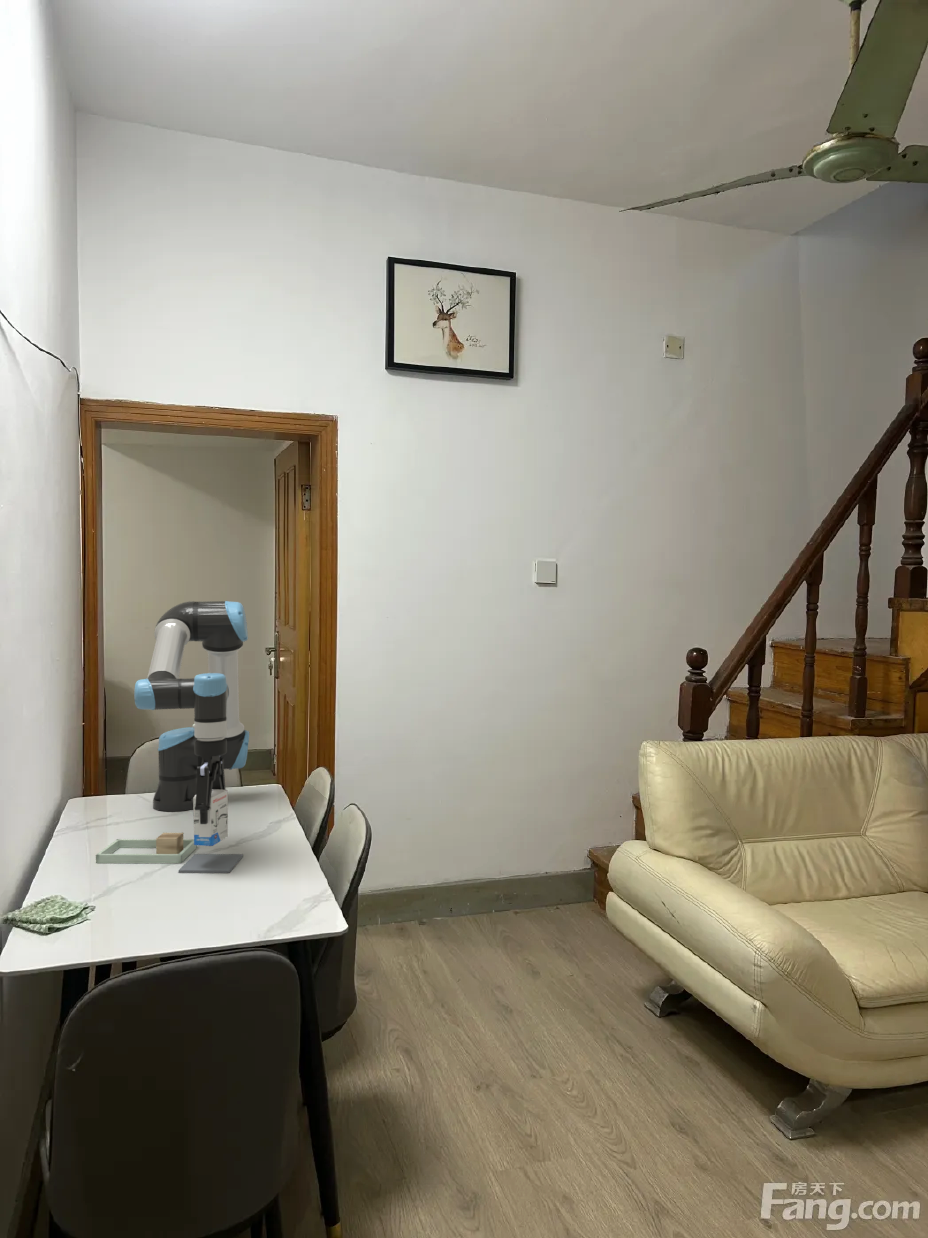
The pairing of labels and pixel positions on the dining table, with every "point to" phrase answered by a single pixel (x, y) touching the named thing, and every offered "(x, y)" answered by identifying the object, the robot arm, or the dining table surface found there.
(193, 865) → the rubber mat
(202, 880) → the dining table surface
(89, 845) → the dining table surface
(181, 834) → the kraft cube
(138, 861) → the parts tray
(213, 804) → the ink box
